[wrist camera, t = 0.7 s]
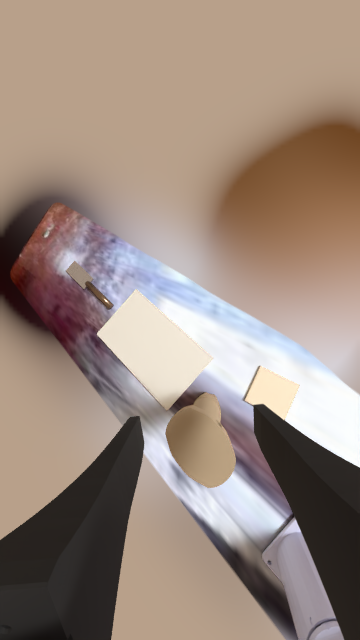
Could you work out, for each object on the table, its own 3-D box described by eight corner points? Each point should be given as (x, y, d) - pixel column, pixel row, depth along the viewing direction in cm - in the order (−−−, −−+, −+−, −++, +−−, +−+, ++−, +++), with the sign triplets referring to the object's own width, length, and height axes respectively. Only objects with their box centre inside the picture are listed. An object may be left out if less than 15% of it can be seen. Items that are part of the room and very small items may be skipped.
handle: (212, 428, 29) (206, 500, 15) (184, 396, 31) (155, 434, 17) (233, 407, 29) (247, 459, 15) (204, 376, 31) (192, 397, 17)
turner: (117, 301, 37) (114, 300, 36) (107, 312, 37) (104, 311, 36) (75, 261, 41) (71, 258, 40) (66, 271, 41) (62, 269, 40)
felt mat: (213, 358, 31) (213, 358, 31) (167, 410, 31) (166, 411, 31) (136, 289, 37) (136, 288, 36) (97, 334, 37) (96, 334, 36)
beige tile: (297, 384, 29) (299, 385, 28) (281, 419, 28) (283, 421, 27) (259, 365, 30) (260, 366, 29) (244, 399, 30) (245, 400, 29)
